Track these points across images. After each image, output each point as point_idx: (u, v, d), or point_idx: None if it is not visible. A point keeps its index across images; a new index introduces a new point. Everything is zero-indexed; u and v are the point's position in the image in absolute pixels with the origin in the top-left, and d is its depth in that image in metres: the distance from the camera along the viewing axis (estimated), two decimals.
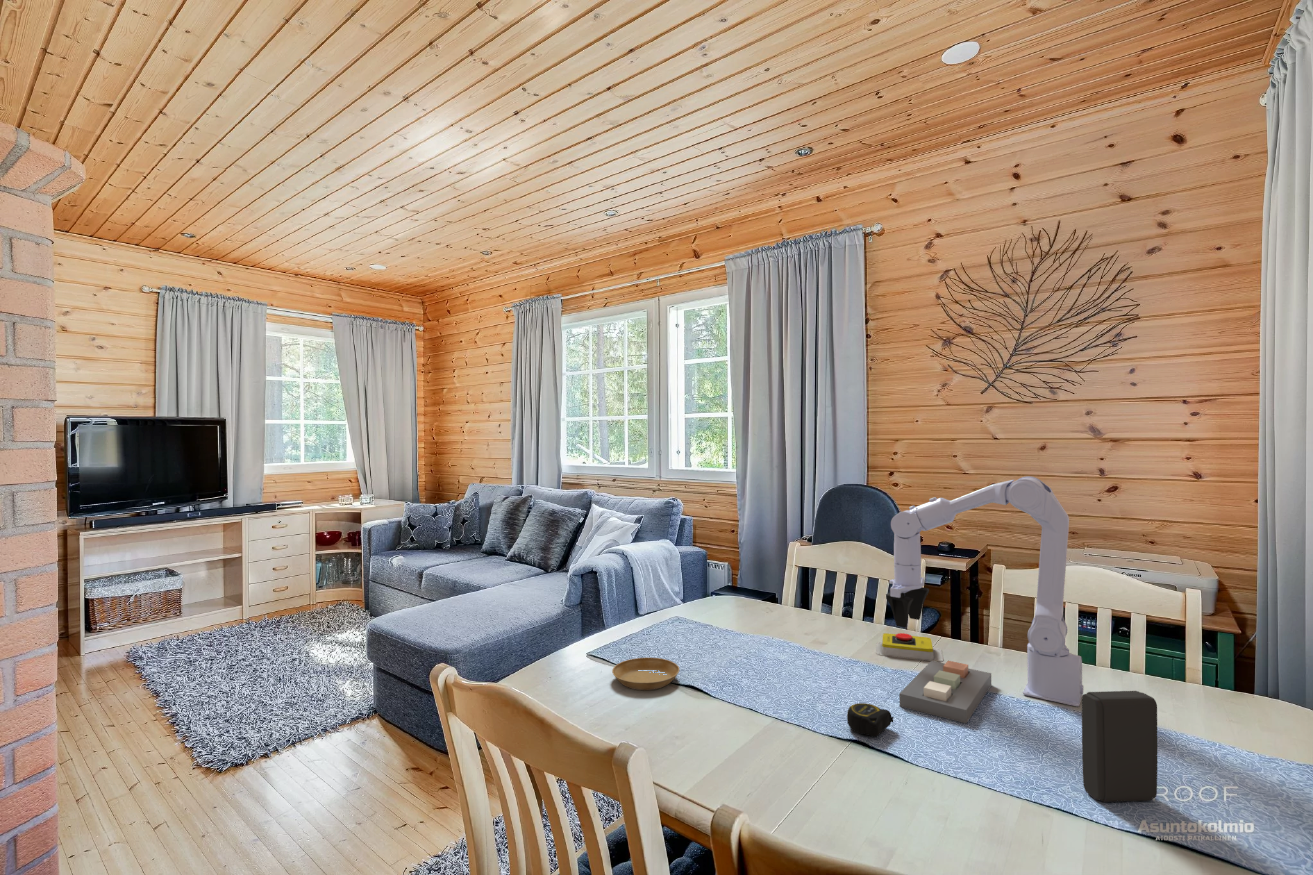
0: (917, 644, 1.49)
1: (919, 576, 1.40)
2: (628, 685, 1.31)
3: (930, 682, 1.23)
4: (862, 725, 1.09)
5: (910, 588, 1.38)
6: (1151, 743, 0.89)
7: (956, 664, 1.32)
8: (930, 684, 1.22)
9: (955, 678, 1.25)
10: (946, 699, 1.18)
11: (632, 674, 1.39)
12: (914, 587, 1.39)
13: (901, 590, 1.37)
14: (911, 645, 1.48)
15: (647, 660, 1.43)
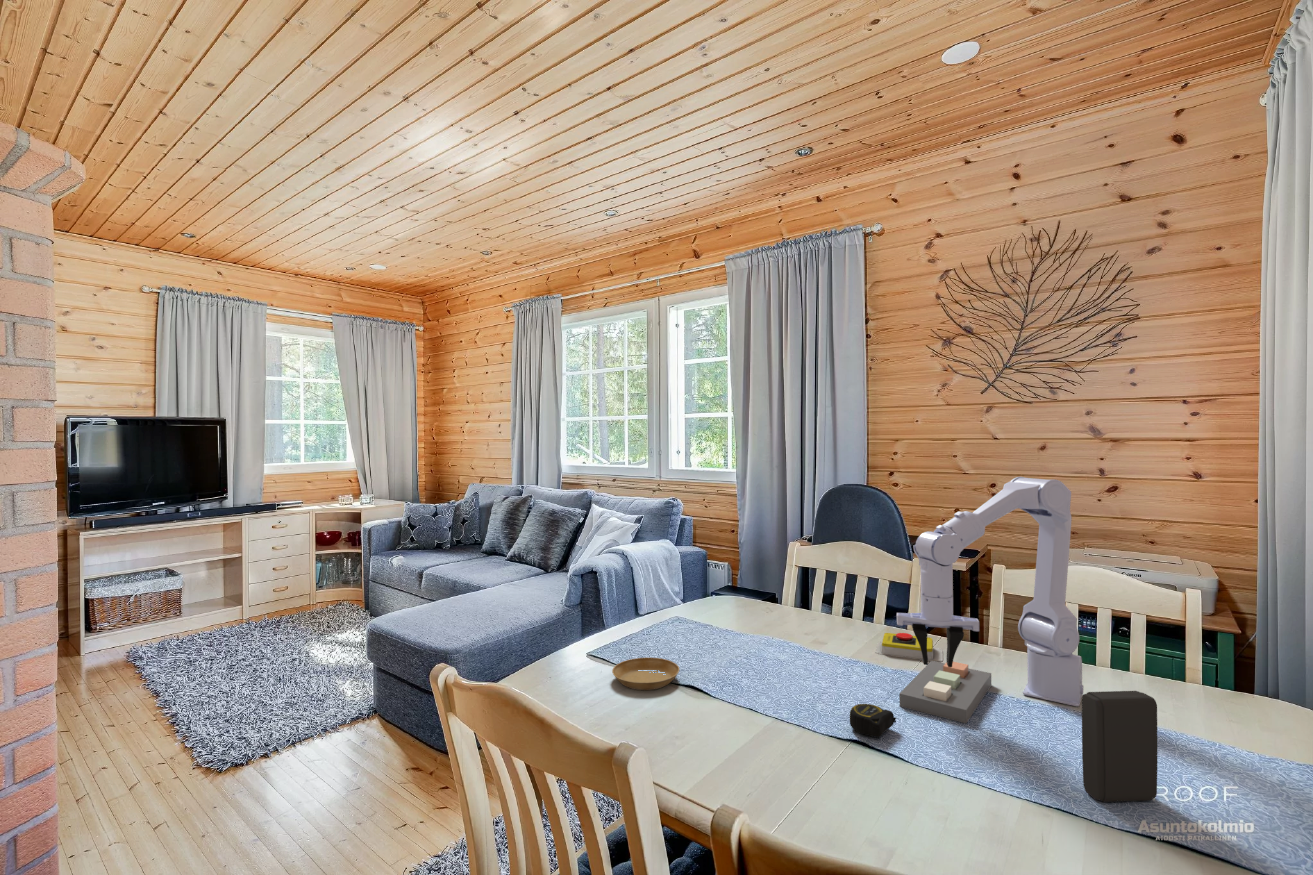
0: (916, 644, 1.49)
1: (936, 611, 1.18)
2: (628, 685, 1.31)
3: (930, 682, 1.23)
4: (864, 725, 1.09)
5: (918, 620, 1.20)
6: (1151, 743, 0.89)
7: (956, 664, 1.32)
8: (930, 684, 1.22)
9: (955, 678, 1.25)
10: (946, 699, 1.18)
11: (632, 674, 1.39)
12: (925, 621, 1.19)
13: (903, 618, 1.22)
14: (911, 645, 1.49)
15: (647, 660, 1.43)
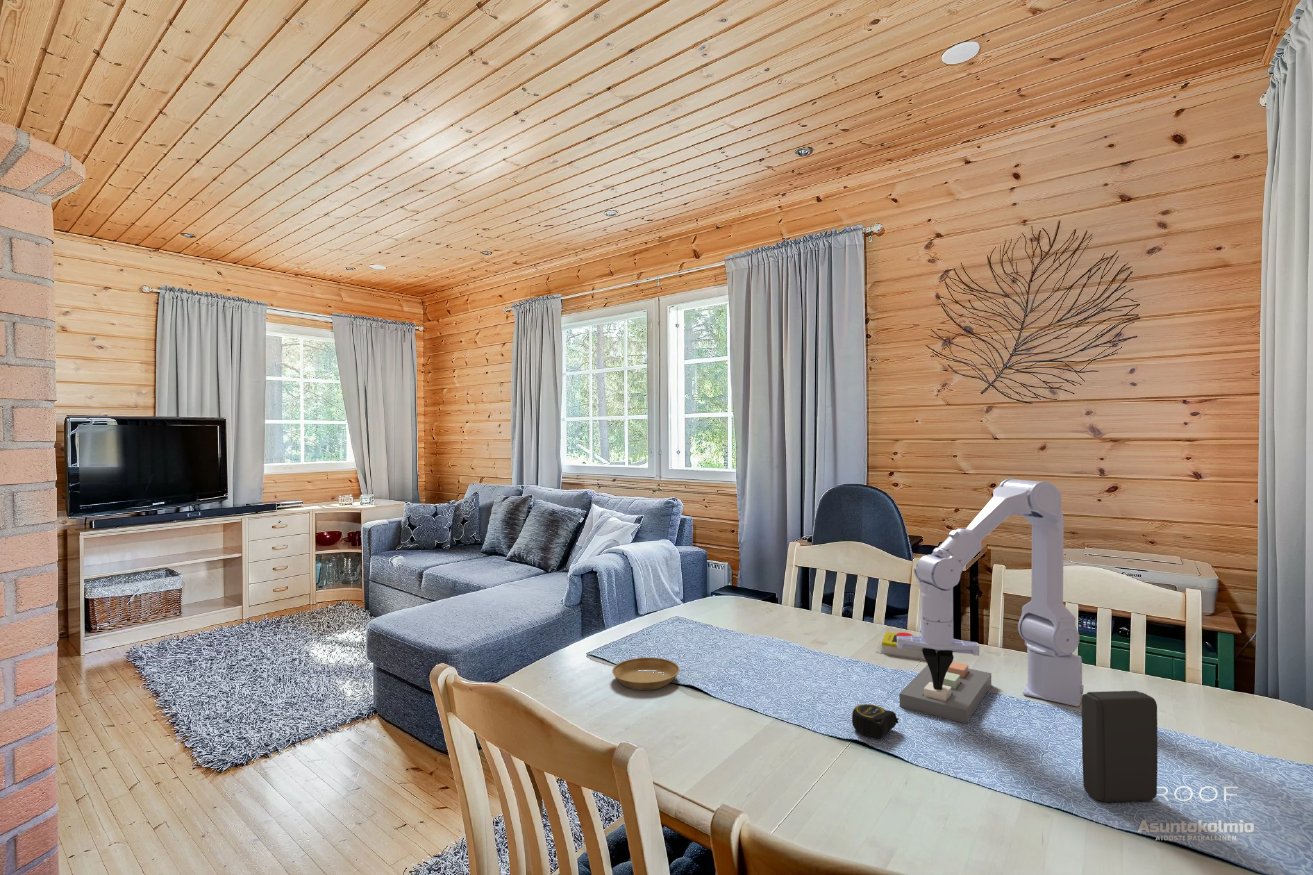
0: None
1: (937, 635, 1.18)
2: (628, 685, 1.31)
3: (930, 683, 1.23)
4: (867, 726, 1.09)
5: (919, 644, 1.20)
6: (1151, 743, 0.89)
7: (956, 664, 1.32)
8: (930, 685, 1.22)
9: (955, 678, 1.25)
10: (946, 700, 1.18)
11: (632, 674, 1.39)
12: (925, 645, 1.19)
13: (903, 642, 1.22)
14: None
15: (647, 660, 1.43)
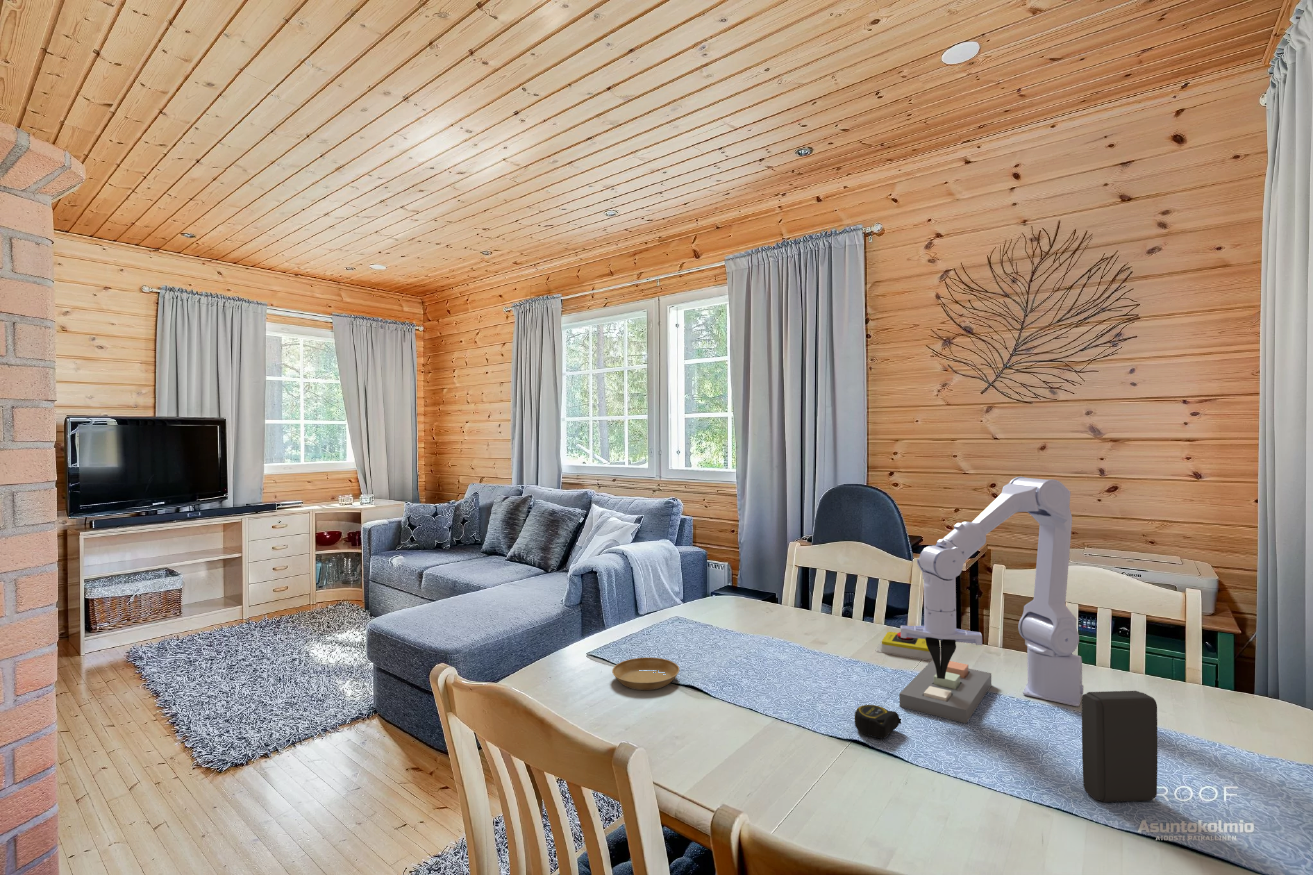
0: (916, 644, 1.49)
1: (939, 624, 1.20)
2: (628, 685, 1.31)
3: (930, 687, 1.23)
4: (870, 727, 1.08)
5: (921, 633, 1.22)
6: (1151, 743, 0.89)
7: (956, 664, 1.32)
8: (930, 689, 1.22)
9: (955, 678, 1.25)
10: None
11: (632, 674, 1.39)
12: (928, 634, 1.21)
13: (906, 631, 1.23)
14: (910, 644, 1.49)
15: (647, 660, 1.43)
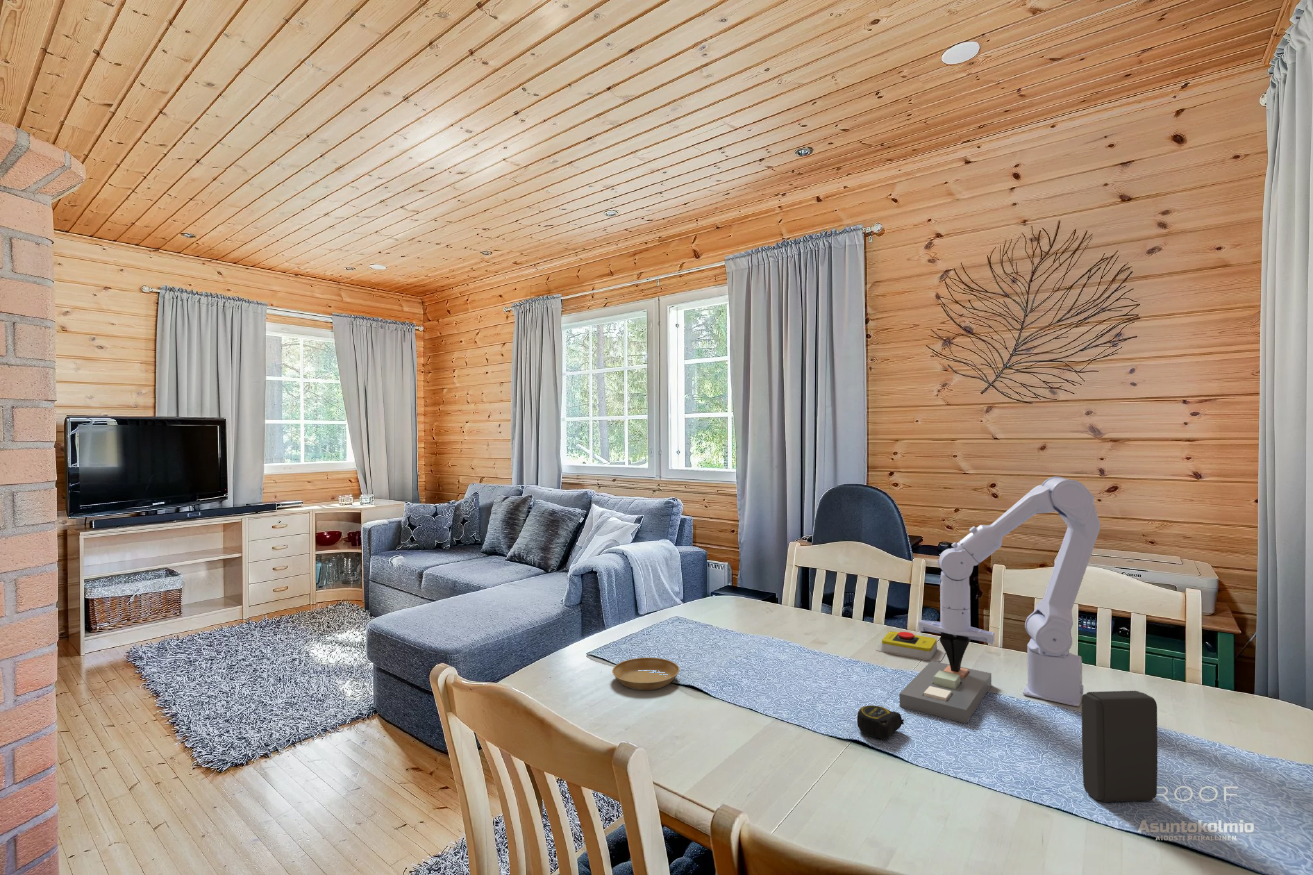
0: (916, 643, 1.49)
1: (950, 621, 1.30)
2: (628, 685, 1.31)
3: (930, 687, 1.23)
4: (872, 727, 1.08)
5: (935, 628, 1.32)
6: (1151, 743, 0.89)
7: None
8: (930, 689, 1.22)
9: (955, 678, 1.25)
10: None
11: (632, 674, 1.39)
12: (940, 629, 1.31)
13: (923, 625, 1.35)
14: (910, 643, 1.49)
15: (647, 660, 1.43)
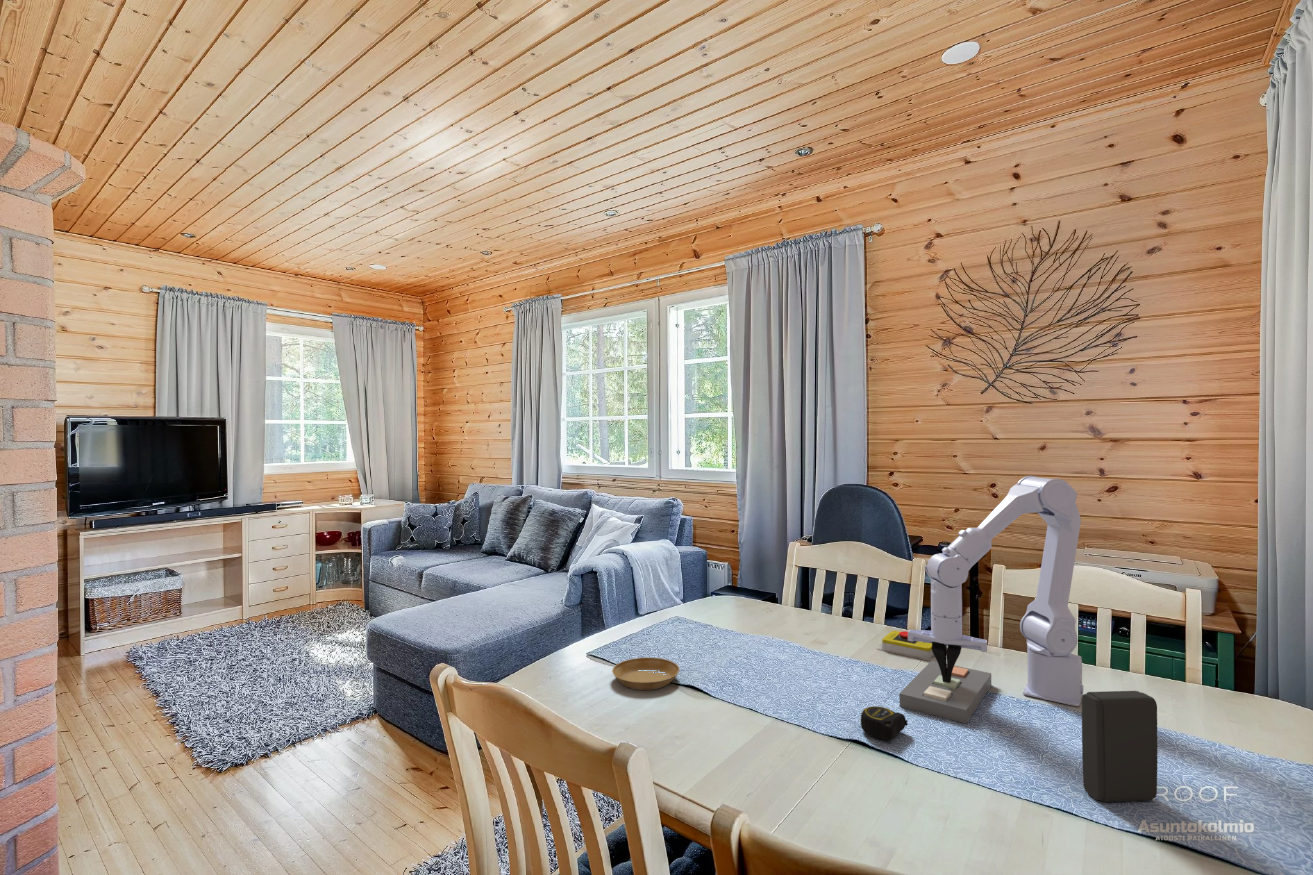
0: (916, 643, 1.50)
1: (943, 630, 1.24)
2: (628, 685, 1.31)
3: (930, 687, 1.23)
4: (876, 728, 1.08)
5: (927, 637, 1.26)
6: (1151, 743, 0.89)
7: (956, 669, 1.32)
8: (930, 689, 1.22)
9: (955, 683, 1.25)
10: None
11: (632, 674, 1.39)
12: (933, 639, 1.25)
13: (913, 635, 1.28)
14: (910, 643, 1.50)
15: (647, 660, 1.43)
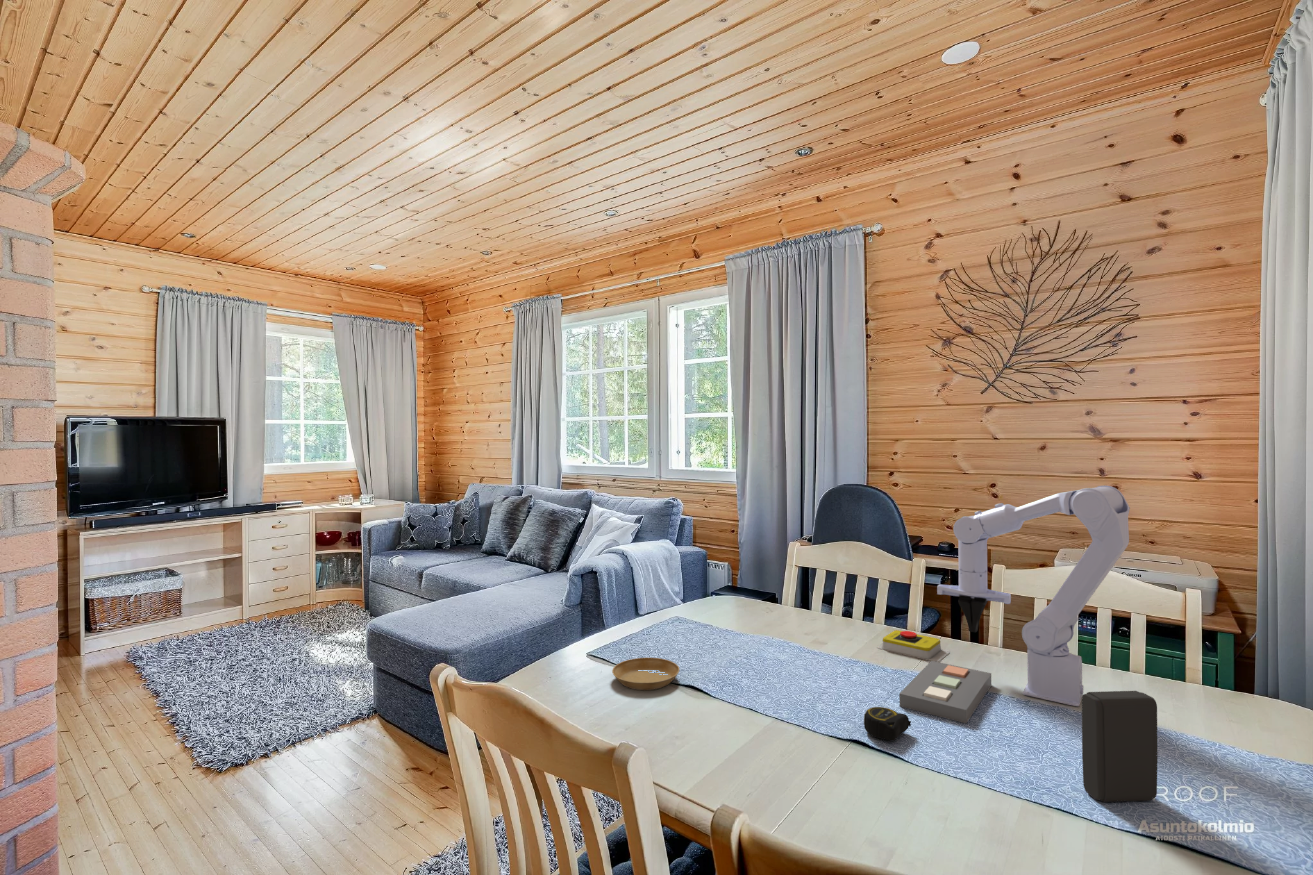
0: (916, 643, 1.50)
1: (968, 583, 1.36)
2: (628, 685, 1.31)
3: (930, 687, 1.23)
4: (879, 729, 1.08)
5: (954, 591, 1.39)
6: (1151, 743, 0.89)
7: (956, 669, 1.32)
8: (930, 689, 1.22)
9: (955, 683, 1.25)
10: None
11: (632, 674, 1.39)
12: (959, 591, 1.38)
13: (942, 588, 1.41)
14: (910, 642, 1.50)
15: (647, 660, 1.43)
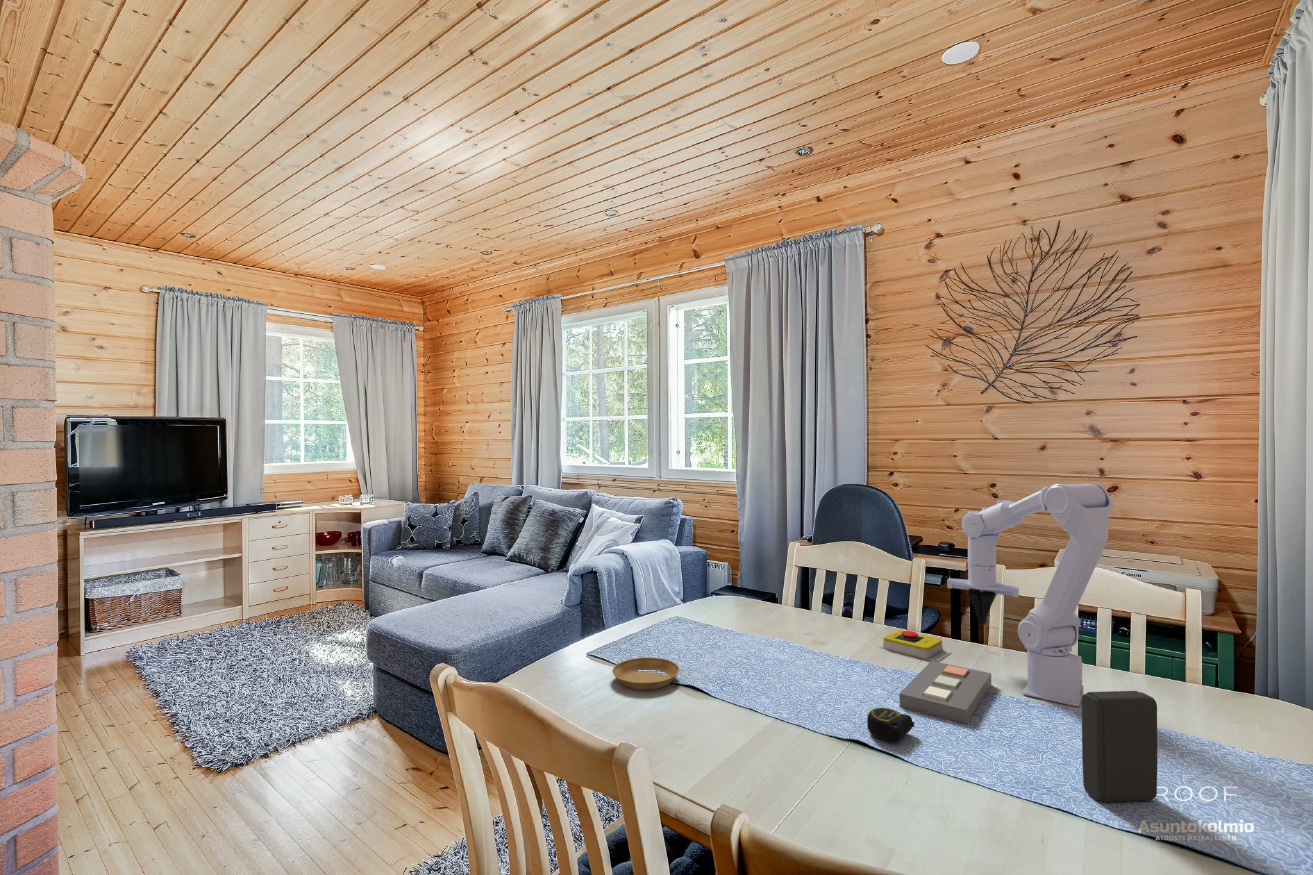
0: (917, 642, 1.50)
1: (977, 577, 1.41)
2: (628, 685, 1.31)
3: (930, 687, 1.23)
4: (883, 730, 1.07)
5: (963, 584, 1.43)
6: (1151, 743, 0.89)
7: (956, 669, 1.32)
8: (930, 689, 1.22)
9: (955, 683, 1.25)
10: None
11: (632, 674, 1.39)
12: (968, 585, 1.42)
13: (952, 582, 1.46)
14: (910, 642, 1.50)
15: (647, 660, 1.43)
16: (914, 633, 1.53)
